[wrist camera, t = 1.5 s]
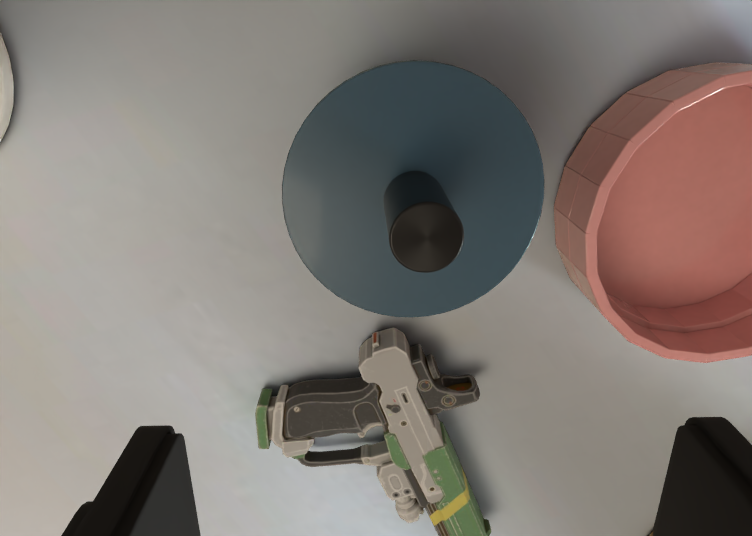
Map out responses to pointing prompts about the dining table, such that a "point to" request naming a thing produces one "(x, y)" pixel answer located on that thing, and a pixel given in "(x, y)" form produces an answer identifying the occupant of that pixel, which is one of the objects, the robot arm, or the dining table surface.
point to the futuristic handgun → (385, 429)
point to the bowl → (667, 213)
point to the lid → (413, 188)
